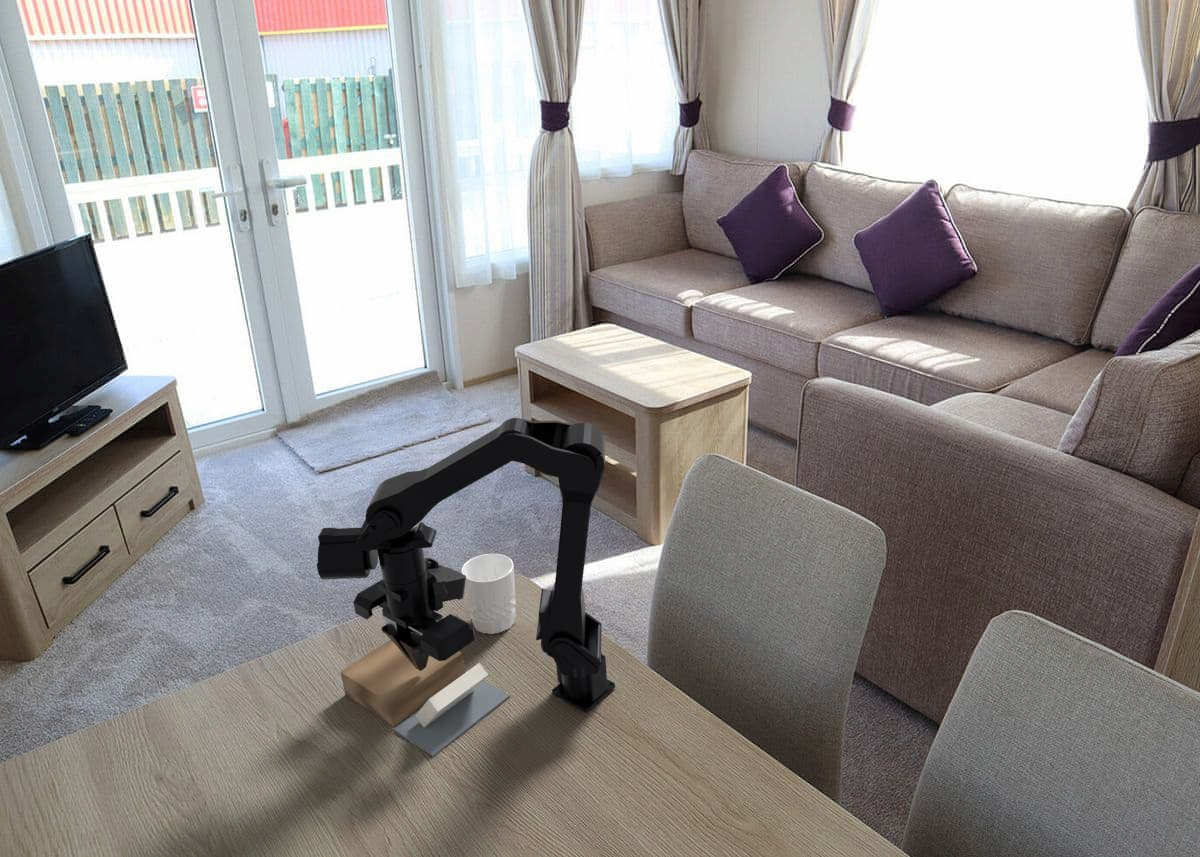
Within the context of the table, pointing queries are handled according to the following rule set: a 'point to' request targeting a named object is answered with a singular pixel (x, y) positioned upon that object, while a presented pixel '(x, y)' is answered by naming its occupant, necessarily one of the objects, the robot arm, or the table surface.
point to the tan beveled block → (397, 681)
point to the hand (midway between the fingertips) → (421, 668)
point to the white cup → (490, 592)
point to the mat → (452, 719)
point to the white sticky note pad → (451, 695)
